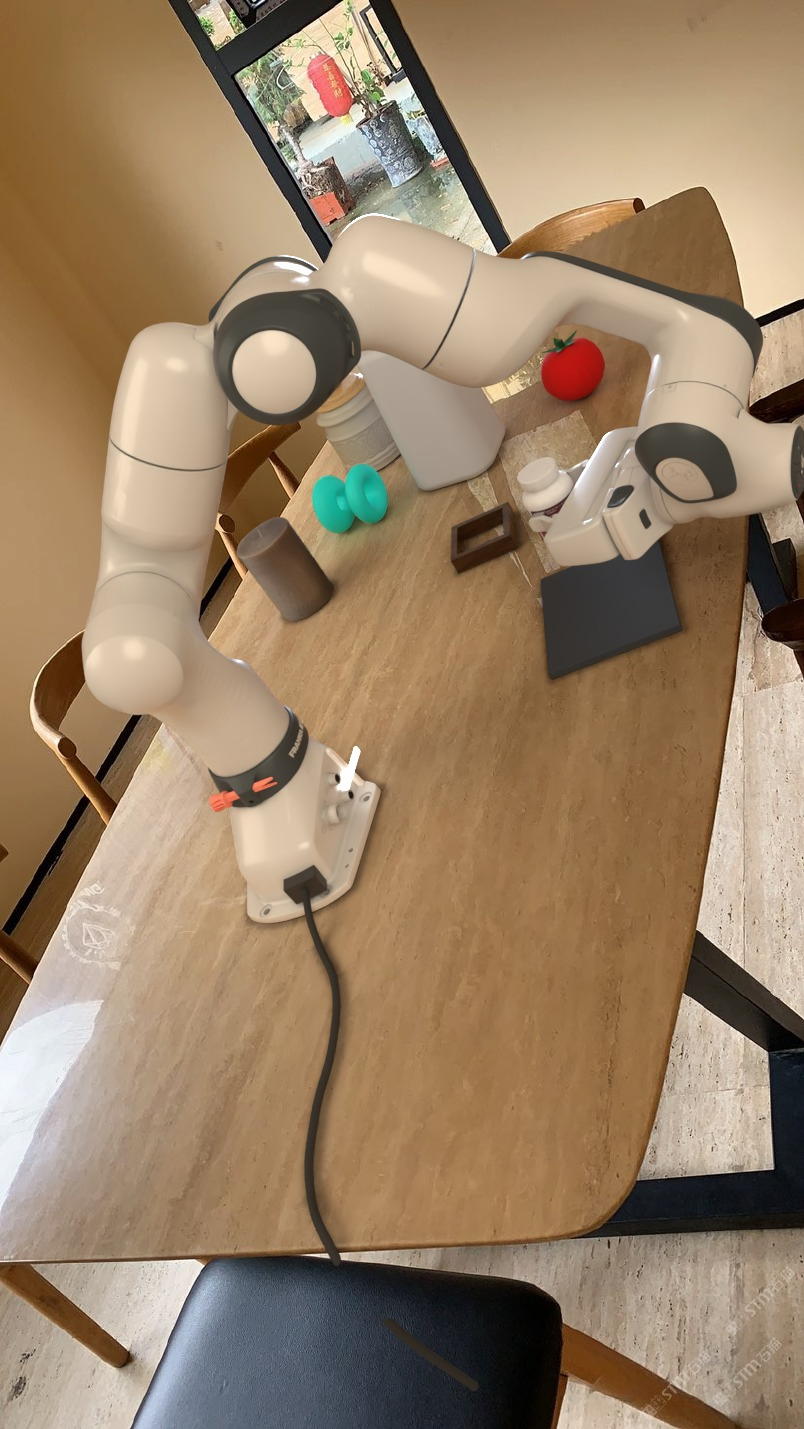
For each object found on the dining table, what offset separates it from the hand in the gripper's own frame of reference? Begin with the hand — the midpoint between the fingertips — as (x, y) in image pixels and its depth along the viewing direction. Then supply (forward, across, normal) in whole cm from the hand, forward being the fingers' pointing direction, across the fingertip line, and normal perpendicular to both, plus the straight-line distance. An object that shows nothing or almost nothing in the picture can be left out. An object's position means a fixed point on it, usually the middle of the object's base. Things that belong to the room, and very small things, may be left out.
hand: (545, 501), depth 120 cm
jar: (+66, -46, +16) cm, 82 cm away
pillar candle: (+56, -5, +16) cm, 58 cm away
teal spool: (+56, -25, +16) cm, 64 cm away
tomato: (+24, -52, +16) cm, 60 cm away
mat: (-1, 0, +16) cm, 16 cm away
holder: (+25, -15, +16) cm, 33 cm away
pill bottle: (-1, 0, +7) cm, 7 cm away
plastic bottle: (+42, -39, +16) cm, 59 cm away
